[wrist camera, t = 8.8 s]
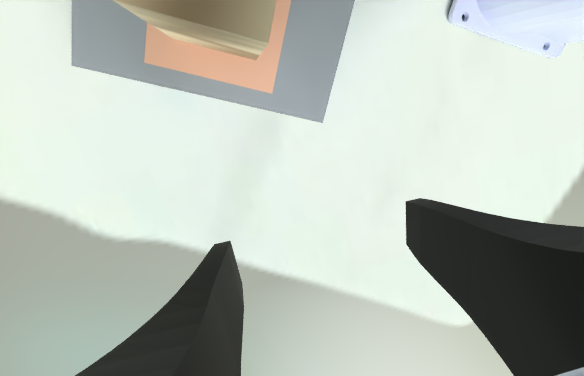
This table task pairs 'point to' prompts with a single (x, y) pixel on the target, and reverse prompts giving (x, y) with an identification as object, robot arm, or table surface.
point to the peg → (211, 22)
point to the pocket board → (222, 55)
